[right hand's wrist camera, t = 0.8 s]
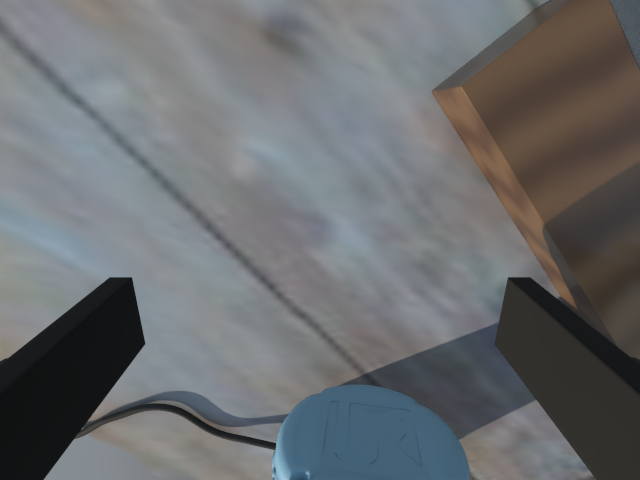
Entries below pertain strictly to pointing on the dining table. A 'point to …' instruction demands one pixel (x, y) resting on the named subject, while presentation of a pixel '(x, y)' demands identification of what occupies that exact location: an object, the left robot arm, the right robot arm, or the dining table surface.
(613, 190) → the thick board
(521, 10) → the dining table surface
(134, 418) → the dining table surface
